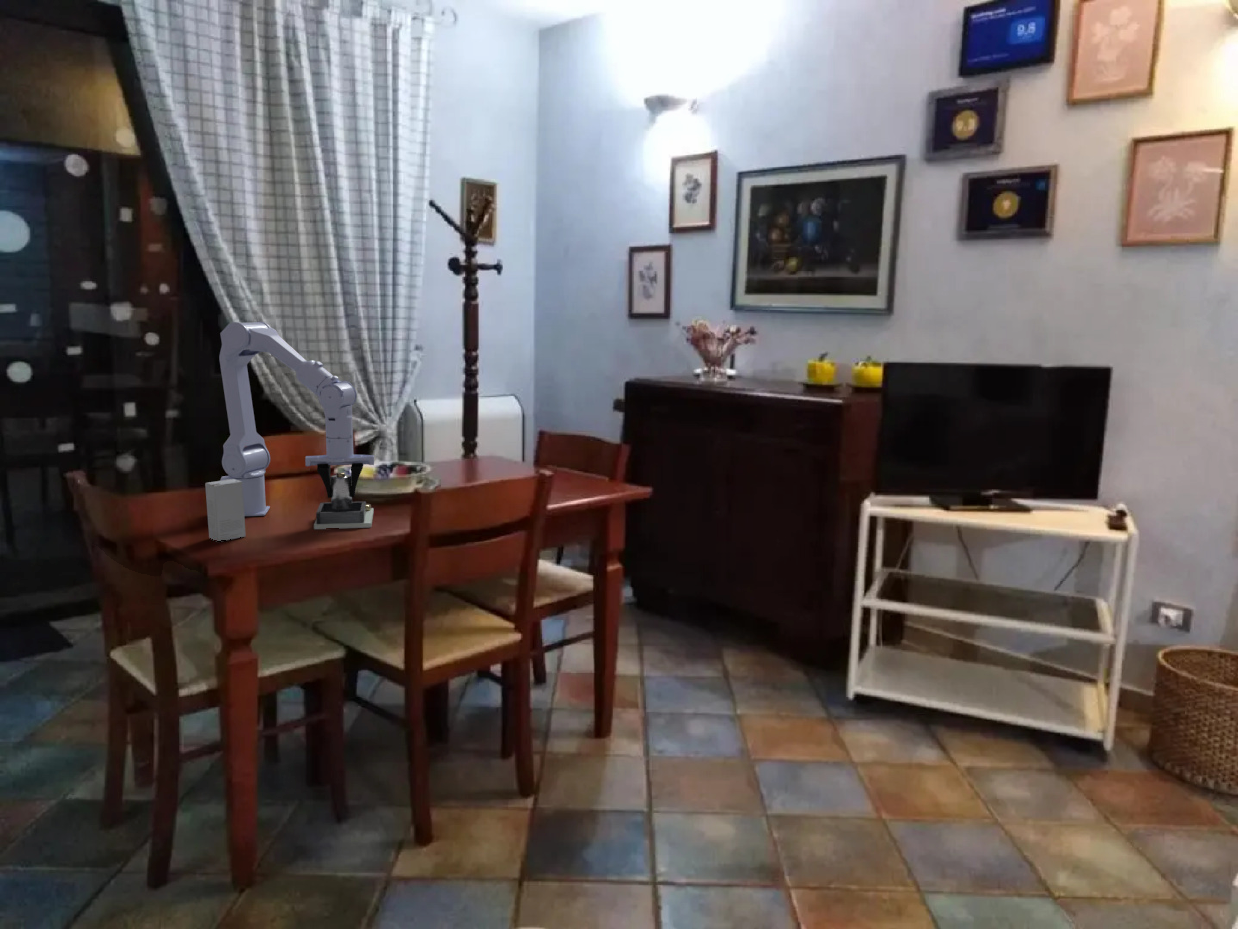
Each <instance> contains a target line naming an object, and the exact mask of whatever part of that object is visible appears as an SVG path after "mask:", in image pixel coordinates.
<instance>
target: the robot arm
mask: <svg viewBox="0 0 1238 929" xmlns="http://www.w3.org/2000/svg"><path fill="white" fill-rule="evenodd" d="M219 334H220V340H221V348H220V352H219V365H220V372H221V379H222V386H223V392H224V400H225V407H226V412H227V420H228V428H229V434H230V435H229V437H228V438H227V440H226V441H225V442H224V443H223V446H222V447H223V454H222V458H221V465H222V468H223V470H224V472H225V473H226V474H227V475H225V476H222V475H221V478H220V480H219V481H222V480H229V479H235V480H239V481H242V489H243V502H244V517H260V516H261V517H262V516H263V517H264V516H266V514H268V511H269V510H270V507H271V506H270V505H266V487H265V483H266V482H265V473H266V469H267V468H268V467H269V466H270V463H271V455H270V452H269V450H268V448H267V445H266V443H265V442H266V441H265V439H264V438H263V437H262V436H261V435H260V434H259V433H258V432H257V428H256V420H255V414H254V412H255V411H254V407H253V400H252V392H251V385H250V384H251V383H250V378H249V372H248V364H249V363H250V362H251V360H252V359H253V358H254V357H255V356H256V355H258V354H260V353H263V352H264V353H268V354H270V355H271V356H273V357H274V358H275V359H277V361H279V362H281V363H282V364H284V365H285V366H286V367H288V368H289V369H291V370H292V371H293V372H295V373H296V374H295V376H296V380H297V381H298V382H299V383H300V384H301V385H303V386H304V387H305V388H307V390H309V391H310V392H311V393H312V394H314V395H315V396H316V397H318V401H319V404H320V406H321V407H322V408H323V415H324V419H325V420H324V422H325V424H324V425H325V445H326V448H325V449H326V454H324V455H323V454H321V455H306V456H305V461H304V462H305V467H311V466H317V468H316V470H317V474H318V475H319V476H320V478H321V480H322V482H323V485H324V487H325V491H326V495H327V498H328V499H329V498H330V499H331V476H332V475H331V466H350V476H351V497H352V498H356V490H357V483H358V480H359V478H360V475H361V473H362V470H363V468H364V465H369V466H374V465H375V455H374V454H371V455H370V454H354V430H353V427H354V426H353V406H354V404H355V403H356V401H357V397H358V396H357V391H356V388H355V387H354V385H352V383H351V382H350V381H347V380H342V381H341V380H340V378H339V377H338V376H337V375H334V374H332V373H331V372H329V371H328V370H327V369H326V368H325V367H323V366H324V363H322V362H321V361H319V360H318V361H316V360H314V359H313V360H312V359H311V360H307V359H306V358H304V357H303V356H302V355H301V354H300V353H298V351H296V350H295V349H294V348H293V347H292V346H291V345H290V344H288V342H286V341H285V340H284V339H283V338H282V337H281V336H280V335H279V333H278V331H277V330H276V329H275V328H273V327H271V326H270V325H269V323H267V322H265V321H255V322H251V321H250V322H239V321H238V322H237V321H233V322H230V323H228V324H227V325H226V326H225V327H224V328H223V329H222V331H221V332H220V333H219Z"/></svg>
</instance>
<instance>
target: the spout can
mask: <svg viewBox="0 0 1238 929" xmlns="http://www.w3.org/2000/svg"><path fill="white" fill-rule="evenodd" d="M330 476H331V498H330V500H331V503H332V508H333V509H349V508H352V502H353V497H351V486H352V480H351V474H350V475H348V474H346V473H345V472H343V471H342V472H341V471H340V472H336V474H335V475H330Z"/></svg>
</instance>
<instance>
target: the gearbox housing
mask: <svg viewBox="0 0 1238 929" xmlns="http://www.w3.org/2000/svg"><path fill="white" fill-rule="evenodd" d="M315 515H316V518H315V522H314V523H313V530H327V529H326V528H339V529H358V528H359V529H360V528H363V529H364V528H372V524H373V518H374V507H372V504H370V503H367V501H352V508H349V509H333V508H332V503H331V502H330V501H329V502H328V501H327V502H320V503H319V505H318V508H317V510H316V512H315Z"/></svg>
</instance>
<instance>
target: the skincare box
mask: <svg viewBox="0 0 1238 929" xmlns="http://www.w3.org/2000/svg"><path fill="white" fill-rule="evenodd" d="M204 486H205V496H206V497H205V498H206V499H205V500H206V511H207V512H206V513H207V514H206V515H207V525H208V538H209V539H210V538H211V539H210V540H212V539H213V540H212V541H214V540H217V541H221V540H226V541H230V539H231V540H235V539H239V538H240V537H241V538H245V537H246V534H247V533H246V524H245V523H246V522H245V519H246V518H245V516H244V502H243V489H242V481H239V480H235V479H229V480H222V481H220V480H217V481H211V482H210V481H209V482H205V485H204ZM217 541H216V542H217ZM221 542H222V541H221Z"/></svg>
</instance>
